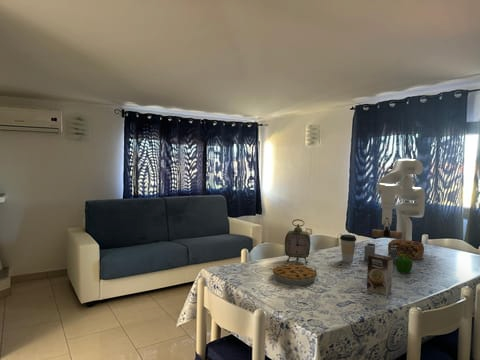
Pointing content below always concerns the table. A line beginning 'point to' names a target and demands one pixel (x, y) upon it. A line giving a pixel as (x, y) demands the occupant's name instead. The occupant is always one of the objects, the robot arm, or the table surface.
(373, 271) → the coffee box
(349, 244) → the coffee cup
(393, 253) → the saddle bracket
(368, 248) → the box
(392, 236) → the brown cylinder
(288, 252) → the tabletop clock
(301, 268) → the pie
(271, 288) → the table surface
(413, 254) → the bread
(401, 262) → the bell pepper
